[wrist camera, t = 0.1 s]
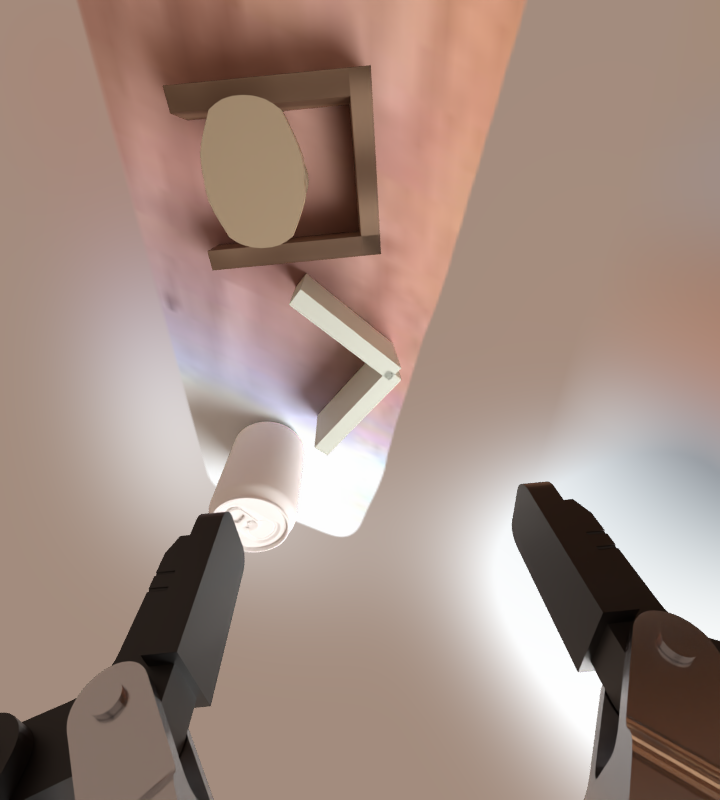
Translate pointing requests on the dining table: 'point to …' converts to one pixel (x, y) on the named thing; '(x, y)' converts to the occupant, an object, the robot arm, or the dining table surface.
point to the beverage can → (261, 484)
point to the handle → (253, 171)
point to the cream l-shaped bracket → (362, 342)
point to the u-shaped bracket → (293, 95)
